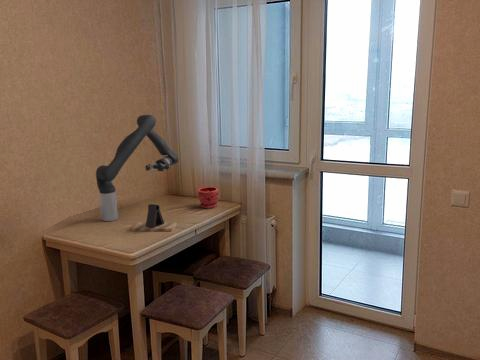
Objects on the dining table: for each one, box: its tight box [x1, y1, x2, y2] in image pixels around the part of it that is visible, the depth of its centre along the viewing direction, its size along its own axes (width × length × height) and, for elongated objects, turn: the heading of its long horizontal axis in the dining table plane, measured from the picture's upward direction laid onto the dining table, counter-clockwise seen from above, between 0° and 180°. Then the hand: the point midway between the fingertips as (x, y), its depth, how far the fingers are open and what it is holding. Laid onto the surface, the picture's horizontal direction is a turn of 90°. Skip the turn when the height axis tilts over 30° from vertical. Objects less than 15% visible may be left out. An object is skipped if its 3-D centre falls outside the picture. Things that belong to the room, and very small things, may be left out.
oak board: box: [129, 221, 177, 232], centre depth 237 cm, size 24×10×2 cm, turn 82°
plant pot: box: [197, 186, 219, 209], centre depth 276 cm, size 13×13×12 cm
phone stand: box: [145, 203, 165, 228], centre depth 236 cm, size 9×6×12 cm, turn 146°
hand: (153, 169), depth 252 cm, fingers open, 8 cm apart
